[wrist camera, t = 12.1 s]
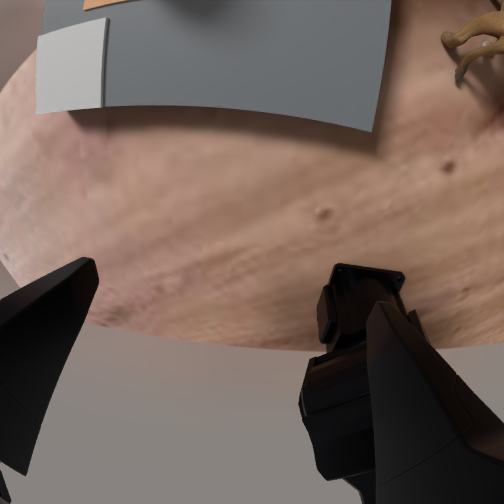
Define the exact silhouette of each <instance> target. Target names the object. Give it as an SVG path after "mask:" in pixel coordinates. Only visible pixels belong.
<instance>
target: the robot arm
mask: <svg viewBox="0 0 504 504" xmlns="http://www.w3.org/2000/svg"><path fill="white" fill-rule="evenodd" d="M338 269H342V270H340V271H337V270H338ZM399 277H401V278H399ZM398 278H399V279H398ZM404 280H405V276H404V274H403V273H402V272H398V271H391V270H384V269H377V268H370V267H363V266H356V265H349V264H342V263H338V264H336V265H335V266H334V267H333V270H332V273H331V276H330V279H329V282H328V285H325V286H324V287H323V290H322V293H321V296H320V299H319V302H318V305H317V321H318V329H319V341H320V342H321V344H326V349H327V353H326V354H324V355H322V356H319V357H313V358H311V359H309V363H308V367H307V370H306V374H305V378H304V381H303V385H302V388H301V392H300V397H299V403H298V404H299V408H300V412H301V416H302V421H303V423H304V425H305V427H306V429H307V431H308V433H309V436H310V439H311V442H312V445H313V449H314V455H315V461H316V466H317V469H318V471H319V472H320V473H321V475H322V476H323V477H324V478H325V479H326V480H327V481H331V480H336V479H341V478H342V479H343V480H345V481H346V482H347V483H348V484H350V485H351V486H352V487H354V488H355V489H356V490H358V492H359V494H360V497H361V501H362V504H504V423H503V422H502V421H501V420H500V419H499V418H498V417H497V415H496V414H494V413H493V412H492V410H491V409H490V408H489V407H488V406H487V405H485V403H484V402H483V401H482V400H481V399H480V398H479V397H478V396H477V395H476V394H475V393H474V392H473V391H472V390H471V389H470V388H469V387H468V386H467V384H466V383H465V382H464V381H463V380H462V379H461V378H460V376H459V375H456V372H455V371H454V370H453V369H452V368H451V367H450V365H449V364H448V363H447V362H446V361H445V360H444V359H443V358H442V357H441V355H440V354H439V353H438V352H437V351H436V350H435V349H434V348H433V347H432V346H431V344H430V342H429V339H428V337H427V335H426V332H425V330H424V328H423V326H422V323H421V321H420V319H419V317H418V315H417V313H416V310H415V309H414V310H413V311H411V312H409V314H408V315H407V313H406V310H405V308H404V305H403V302H402V300H401V297H400V295H399V291H400V289H401V287H402V285H403V282H404ZM98 284H99V277H98V272H97V268H96V264H95V261H94V259H92V258H87V257H81V258H79V259H77V260H75V261H73V262H71V263H69V264H67V265H65V266H63V267H61V268H59V269H57V270H55V271H53V272H51V273H49V274H47V275H45V276H43V277H41V278H39V279H37V280H35V281H33V282H32V283H30V284H28V285H26V286H24V287H22V288H20V289H18V290H17V291H15V292H13V293H11V294H9V295H8V296H6V297H4V298H2V299H1V300H0V463H1V462H3V463H4V464H5V465H7V466H9V467H10V468H12V469H14V470H15V471H17V472H19V473H21V474H22V475H24V476H26V474H27V471H28V468H29V464H30V460H31V457H32V454H33V450H34V446H35V444H36V440H37V437H38V434H39V431H40V428H41V424H42V422H43V419H44V416H45V413H46V410H47V408H48V405H49V402H50V399H51V397H52V394H53V392H54V389H55V387H56V384H57V382H58V379H59V376H60V374H61V372H62V370H63V367H64V365H65V362H66V360H67V358H68V356H69V353H70V351H71V349H72V347H73V345H74V343H75V340H76V338H77V336H78V334H79V332H80V330H81V327H82V325H83V323H84V321H85V318H86V316H87V313H88V310H89V308H90V305H91V303H92V300H93V297H94V295H95V292H96V290H97V287H98ZM10 503H11V498H10V495H9V493H8V490H7V487H6V484H5V481H4V478H3V475H2V472H1V470H0V504H10Z"/></svg>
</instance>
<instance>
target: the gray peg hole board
mask: <svg viewBox="0 0 504 504" xmlns="http://www.w3.org/2000/svg"><path fill="white" fill-rule="evenodd" d="M390 11H391V0H46V2H45V8H44V15H43V22H42V30H41V36H39V37H38V44H37V57H36V115H38V114H45V113H52V112H59V111H68V110H77V109H88V108H101V107H109V106H134V105H177V106H202V107H218V108H230V109H241V110H251V111H259V112H267V113H275V114H282V115H288V116H295V117H301V118H307V119H312V120H318V121H323V122H328V123H333V124H338V125H342V126H347V127H351V128H356V129H360V130H364V131H368V132H372V127H373V122H374V117H375V112H376V107H377V102H378V96H379V91H380V85H381V79H382V73H383V67H384V60H385V53H386V46H387V38H388V30H389V21H390Z"/></svg>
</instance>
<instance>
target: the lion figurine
mask: <svg viewBox="0 0 504 504" xmlns="http://www.w3.org/2000/svg"><path fill="white" fill-rule="evenodd" d="M482 34H485V35H490V36H493V37H496V38H498V39H497V41H496V42H495V43H493V44H492V43H491V42H490V41H485V42H483V44H482V47H480V48H478V49H475V50H473V51H471V52H469V53H468V54H467V55H466V56H465V57H464V58H463V59H462V61H461V63H460V65H459V66H458V67H457V68H456V70H455V72H456V73H455V78H456V80H457V81H458V82H461V81H462V79H463V76H464V74H465V73H466V71H467V66H468V64H469V63H470V62H471V61H472V60H473V59H476V58H478V57H481V56H485V55H487V56H493V55H495V54H503V55H504V1H503V4H502V6H501V11H496V12H489V13H486V14H484V15H480V16H478V17H476V18H474V19H473V20H471V21H470V22H468V23H467V24H466V25H465V26H464V27H463V28H462V29H461V30H460V31H459V32H458V33H456V34H454V33H451V32H444V33H443V34H442V37H441V39H442V41H443V43H444V44H445V45H446V46H447V47H449V48H455V47H457V46H460V45H462V44H464V43H465V42H466V41H467V40H468V39H469V38H471V37H473V36H478V35H482Z"/></svg>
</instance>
